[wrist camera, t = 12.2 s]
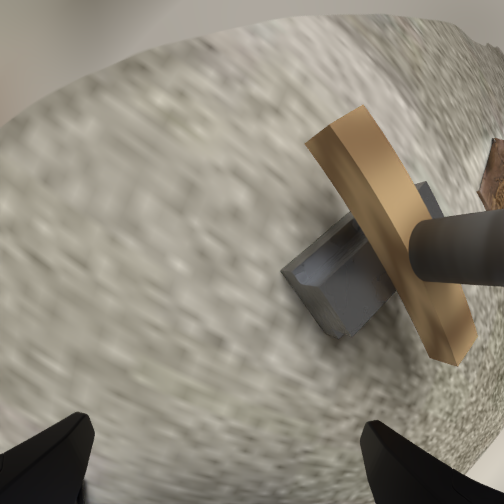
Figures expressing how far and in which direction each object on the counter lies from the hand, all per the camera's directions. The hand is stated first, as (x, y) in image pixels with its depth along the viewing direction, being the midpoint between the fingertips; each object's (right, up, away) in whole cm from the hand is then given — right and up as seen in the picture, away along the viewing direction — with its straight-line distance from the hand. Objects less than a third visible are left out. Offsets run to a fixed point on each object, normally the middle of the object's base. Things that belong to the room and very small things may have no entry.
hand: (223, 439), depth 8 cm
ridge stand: (+9, +6, +15) cm, 18 cm away
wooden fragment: (+39, +18, +24) cm, 49 cm away
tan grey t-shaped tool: (+10, +6, +11) cm, 16 cm away
